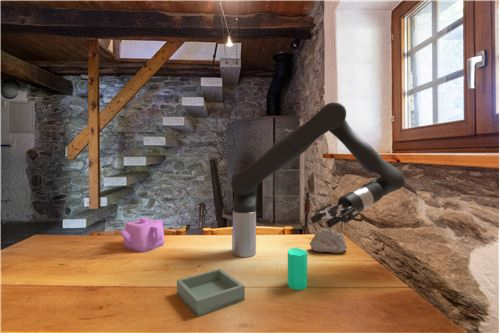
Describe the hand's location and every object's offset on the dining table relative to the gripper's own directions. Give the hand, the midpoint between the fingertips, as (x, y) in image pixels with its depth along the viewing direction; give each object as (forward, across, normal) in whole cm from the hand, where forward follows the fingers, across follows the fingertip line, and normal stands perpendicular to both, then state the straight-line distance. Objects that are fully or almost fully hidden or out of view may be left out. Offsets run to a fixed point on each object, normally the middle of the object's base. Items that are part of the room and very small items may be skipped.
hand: (319, 222), depth 91 cm
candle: (+15, 0, +14) cm, 20 cm away
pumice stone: (-11, -21, +22) cm, 32 cm away
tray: (+40, -2, +4) cm, 40 cm away
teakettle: (+54, -56, -6) cm, 78 cm away
